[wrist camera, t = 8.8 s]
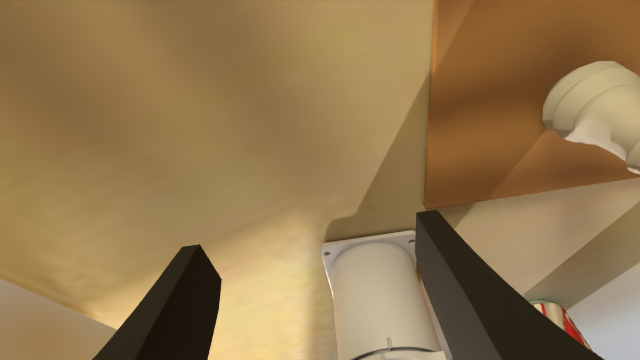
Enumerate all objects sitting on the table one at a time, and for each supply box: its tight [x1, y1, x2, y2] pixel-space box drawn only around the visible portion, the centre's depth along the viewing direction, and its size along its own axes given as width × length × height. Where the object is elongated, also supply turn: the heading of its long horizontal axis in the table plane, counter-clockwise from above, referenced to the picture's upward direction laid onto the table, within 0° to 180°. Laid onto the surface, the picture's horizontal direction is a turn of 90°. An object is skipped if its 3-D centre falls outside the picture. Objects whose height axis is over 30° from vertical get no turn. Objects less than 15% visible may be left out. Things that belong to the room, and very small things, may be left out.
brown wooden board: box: [424, 0, 640, 209], centre depth 19 cm, size 15×17×1 cm
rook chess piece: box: [542, 61, 640, 174], centre depth 15 cm, size 4×4×8 cm
